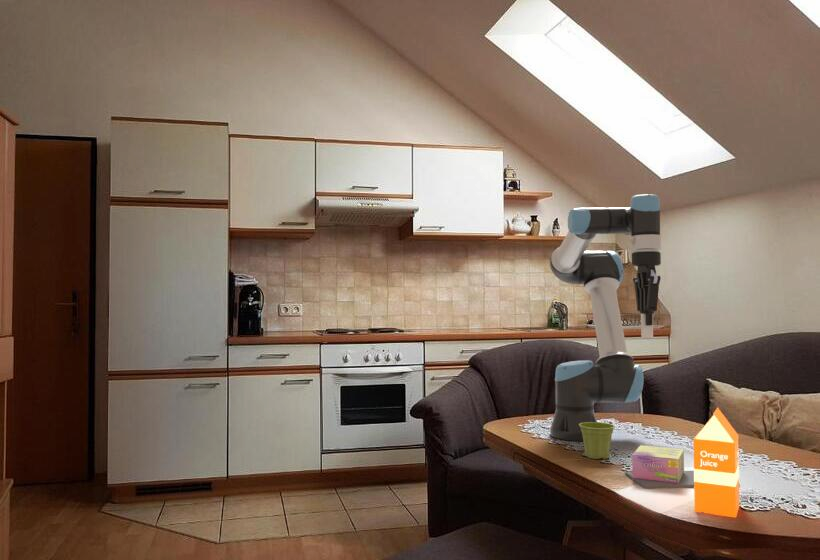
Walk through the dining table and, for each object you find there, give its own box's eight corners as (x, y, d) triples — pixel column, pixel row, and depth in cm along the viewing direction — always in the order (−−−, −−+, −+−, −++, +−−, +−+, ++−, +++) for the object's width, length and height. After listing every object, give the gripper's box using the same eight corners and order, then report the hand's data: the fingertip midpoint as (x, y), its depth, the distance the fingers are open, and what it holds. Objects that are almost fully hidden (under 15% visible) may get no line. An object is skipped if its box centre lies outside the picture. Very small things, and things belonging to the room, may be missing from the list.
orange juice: (693, 511, 133) (692, 412, 134) (699, 499, 141) (698, 405, 141) (737, 517, 129) (735, 415, 130) (740, 505, 137) (738, 408, 137)
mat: (625, 474, 162) (625, 471, 162) (713, 472, 163) (712, 470, 163) (645, 488, 150) (644, 485, 150) (739, 486, 151) (739, 483, 151)
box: (639, 467, 166) (631, 478, 155) (639, 444, 166) (631, 453, 156) (684, 472, 161) (679, 484, 151) (684, 449, 161) (679, 458, 151)
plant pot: (586, 451, 186) (585, 420, 186) (619, 455, 181) (619, 423, 181) (574, 458, 178) (573, 425, 179) (608, 462, 173) (608, 429, 173)
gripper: (623, 253, 187) (624, 336, 186) (641, 249, 174) (643, 339, 173) (649, 253, 188) (650, 336, 187) (669, 249, 175) (671, 338, 174)
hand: (647, 337), depth 180 cm, fingers closed
